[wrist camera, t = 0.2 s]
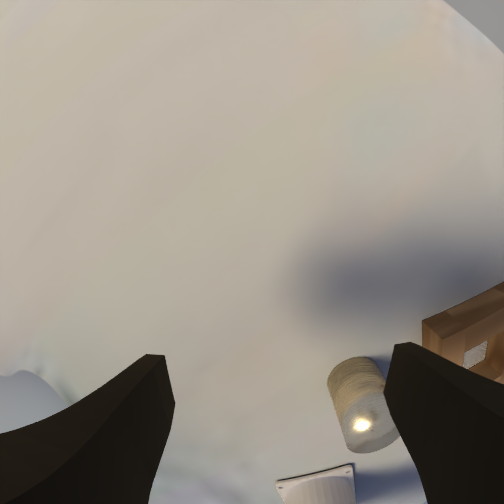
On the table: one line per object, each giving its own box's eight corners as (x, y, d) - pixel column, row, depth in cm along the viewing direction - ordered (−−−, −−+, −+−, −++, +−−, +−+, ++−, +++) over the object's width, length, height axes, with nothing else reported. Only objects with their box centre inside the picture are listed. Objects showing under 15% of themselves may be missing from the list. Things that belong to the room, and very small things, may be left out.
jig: (512, 377, 21) (525, 390, 18) (415, 433, 22) (426, 452, 19) (531, 265, 18) (552, 275, 15) (422, 320, 19) (442, 339, 16)
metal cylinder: (378, 387, 20) (405, 439, 14) (330, 403, 20) (348, 460, 15) (375, 349, 19) (409, 401, 13) (323, 366, 20) (343, 425, 14)
